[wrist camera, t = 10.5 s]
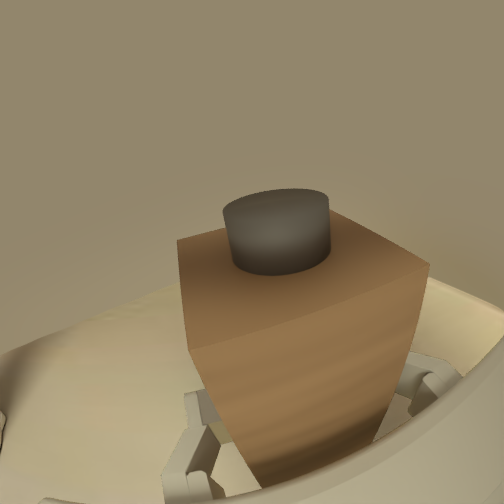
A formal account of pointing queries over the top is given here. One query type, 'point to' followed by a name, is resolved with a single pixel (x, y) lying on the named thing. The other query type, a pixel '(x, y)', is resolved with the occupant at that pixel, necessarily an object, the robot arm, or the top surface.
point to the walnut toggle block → (298, 328)
